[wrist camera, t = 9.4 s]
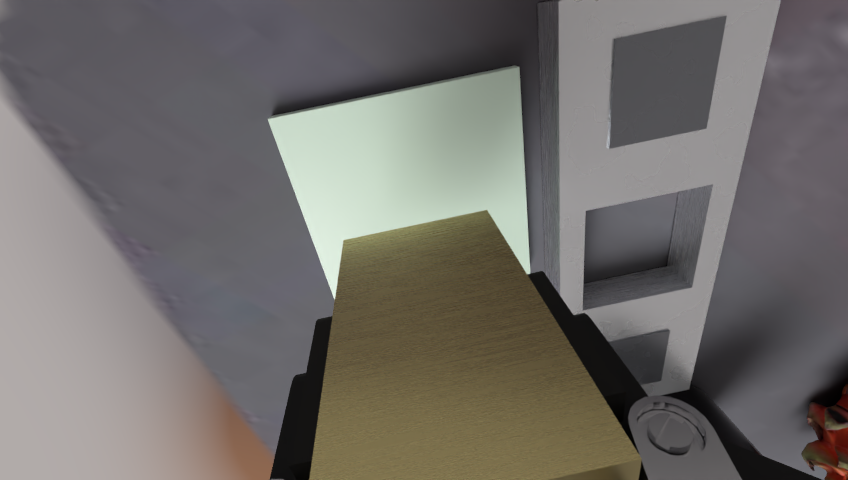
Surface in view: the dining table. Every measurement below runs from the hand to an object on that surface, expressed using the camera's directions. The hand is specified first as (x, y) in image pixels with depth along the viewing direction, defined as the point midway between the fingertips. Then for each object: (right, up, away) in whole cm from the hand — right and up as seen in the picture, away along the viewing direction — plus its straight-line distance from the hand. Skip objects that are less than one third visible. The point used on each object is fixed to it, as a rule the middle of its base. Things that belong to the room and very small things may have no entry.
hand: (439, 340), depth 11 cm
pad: (-1, +4, +8) cm, 9 cm away
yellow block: (0, +1, +2) cm, 3 cm away
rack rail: (+10, +3, +10) cm, 14 cm away
